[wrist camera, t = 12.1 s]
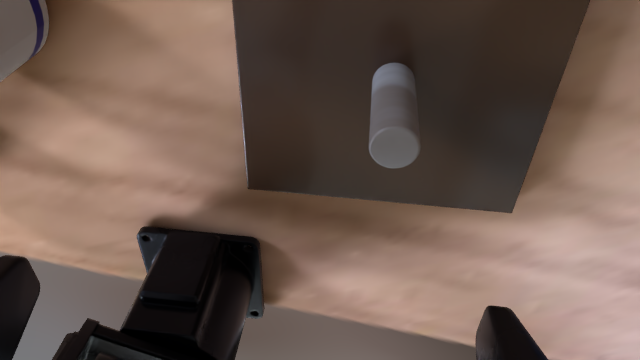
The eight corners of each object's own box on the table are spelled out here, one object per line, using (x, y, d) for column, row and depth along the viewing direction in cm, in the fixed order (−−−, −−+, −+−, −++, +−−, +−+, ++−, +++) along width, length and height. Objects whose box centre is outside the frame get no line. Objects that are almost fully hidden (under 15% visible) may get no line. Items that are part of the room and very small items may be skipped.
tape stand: (508, 201, 23) (534, 292, 19) (251, 178, 24) (222, 260, 20) (613, -91, 15) (693, -46, 11) (229, -111, 16) (175, -75, 12)
